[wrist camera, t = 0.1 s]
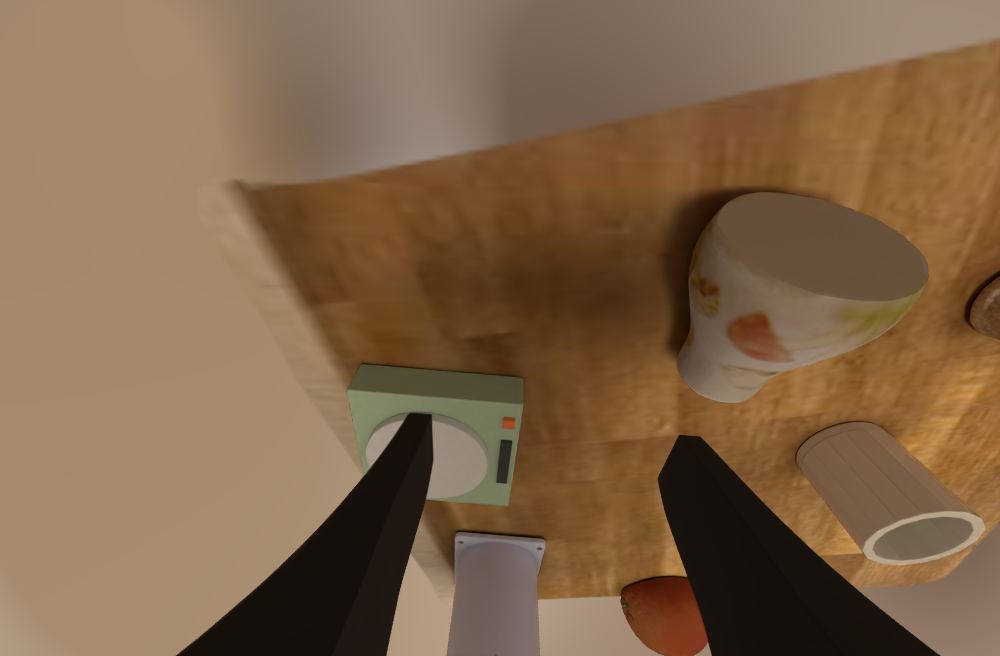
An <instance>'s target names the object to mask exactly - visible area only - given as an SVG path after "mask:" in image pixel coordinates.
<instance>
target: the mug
mask: <svg viewBox="0 0 1000 656" xmlns="http://www.w3.org/2000/svg"><path fill="white" fill-rule="evenodd" d="M927 281H928V264H927V262H926V260H925V258H924V256H923V255H922V254H921V252H920V251H919V250H918V249H917V248H916V247H915V246H914V245H913V244H911V243H910V242H909V241H908V240H907V239H906V238H905V237H904V236H902V235H901V234H900V233H898V232H897V231H895V230H894V229H892V228H890V227H889V226H887V225H886V224H884V223H883V222H881V221H879V220H877V219H875V218H873V217H871V216H868V215H866V214H863V213H860V212H858V211H855V210H852V209H850V208H847V207H844V206H842V205H839V204H835V203H832V202H828V201H825V200H821V199H818V198H811V197H803V196H797V195H791V194H785V193H776V192H758V193H752V194H745V195H743V196H737V197H736V198H734V199H732V200H731V201H730V202H728V203H727V204H725V205H724V206H723V207H722V208H721V209H720V210H719V211H718V212H717V213H716V214H715V215H714V217H713V218H712V219H711V220H710V221H709V223H708V224H707V225H706V227H705V229H704V230H703V232H702V234H701V235H700V237H699V239H698V241H697V244H696V246H695V248H694V252H693V255H692V260H691V264H690V270H689V300H690V317H691V327H690V332H689V335H688V337H687V339H686V341H685V343H684V345H683V347H682V349H681V350H680V352H679V354H678V357H677V367H678V370H679V373H680V375H681V377H682V378H683V380H684V381H685V382H686V383H687V384H688V386H689V387H690V388H691V389H692V390H694V391H695V392H696V393H697V394H700V395H702V396H704V397H707V398H709V399H712V400H715V401H720V402H727V403H735V402H742V401H745V400H747V399H749V398H750V397H752V396H753V395H755V393H756V392H757V391H758V390H759V389H760V388H761V387H762V386H764V385H765V384H766V383H767V382H768V381H769V380H770V379H772V378H773V377H775V376H776V375H778V374H780V373H783V372H786V371H789V370H792V369H796V368H799V367H803V366H805V365H808V364H812V363H815V362H819V361H822V360H825V359H828V358H832V357H835V356H838V355H840V354H843V353H846V352H848V351H851V350H853V349H855V348H857V347H860V346H862V345H864V344H866V343H868V342H870V341H872V340H874V339H875V338H877V337H879V336H880V335H882V334H883V333H885V332H886V331H888V330H889V329H890V328H892V327H893V326H894V325H895V324H896V323H898V322H899V321H900V320H901V319H902V318H903V317H904V316H905V315H906V314H907V313H908V311H909V310H910V309H911V308H912V307H913V305H914V304H915V303H916V302H917V300H918V298H919V297H920V295H921V293H922V292H923V290H924V288H925V286H926V283H927Z"/></svg>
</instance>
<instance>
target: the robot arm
mask: <svg viewBox="0 0 1000 656" xmlns="http://www.w3.org/2000/svg"><path fill="white" fill-rule="evenodd" d="M433 461H434V455H433V430H432V414H424V413H412V412H411V413H409V414H408V415H407V416H406V418H405V420H404V421H403V423H402V424H401V426H400V427H399V429H398V430H397V432H396V433H395V435H394V436H393V438H392V439H391V441H390V442H389V443H388V445H387V446H386V448H385V449H384V450H383V452H382V453H381V455H380V456H379V457H378V458H377V460H376V461H375V462H374V464H373V465H372V466H371V468H370V469H369V470H368V471H367V473H366V474H365V475H364V477H363V478H362V479H361V480H360V482H359V483H358V484H357V485H356V486H355V487H354V489H353V490H352V491H351V492H350V493H349V494H348V496H347V497H346V498H345V499H344V500H343V501H342V503H341V504H340V505H339V506H338V507H337V508H336V510H335V511H334V512H333V513H332V514H331V515H330V516H329V517H328V518H327V519H326V520H325V522H324V523H323V524H322V525H321V526H320V527H319V528H318V529H317V530H316V531H315V532H314V533H313V534H312V535H311V536H310V537H309V538H308V539H307V540H306V541H305V542H304V543H303V544H302V545H301V546H300V548H298V549H297V550H296V551H295V552H294V553H293V554H292V555H291V556H290V557H289V558H288V559H287V560H286V561H285V562H284V563H283V564H282V565H281V566H280V567H279V568H278V569H277V570H276V571H274V572H273V573H272V574H271V575H270V576H269V577H268V578H267V579H266V580H265V581H264V582H263V583H261V584H260V585H259V586H258V587H257V588H256V589H255V590H254V591H253V592H251V593H250V594H249V595H248V596H247V597H246V598H245V599H243V600H242V601H241V602H240V603H239V604H237V605H236V606H235V607H234V608H233V609H232V610H230V611H229V612H228V613H227V614H226V615H225V616H224V617H222V618H221V619H220V620H219V621H218V622H217V623H215V624H214V625H213V626H212V627H211V628H210V629H208V630H207V631H206V632H205V633H204V634H202V635H201V636H200V637H199V638H198V639H196V640H195V641H194V642H193V643H191V644H190V645H189V646H187V647H186V648H185V649H184V650H182V651H181V652H180V653H179V654H177V655H176V656H386V654H387V650H388V644H389V639H390V634H391V630H392V625H393V620H394V615H395V610H396V606H397V601H398V596H399V592H400V588H401V584H402V580H403V576H404V573H405V569H406V566H407V563H408V559H409V556H410V552H411V549H412V546H413V542H414V539H415V535H416V532H417V528H418V525H419V522H420V518H421V515H422V511H423V508H424V504H425V501H426V497H427V493H428V488H429V483H430V477H431V472H432V466H433ZM658 483H659V488H660V493H661V498H662V502H663V506H664V510H665V514H666V517H667V520H668V523H669V526H670V529H671V532H672V535H673V537H674V540H675V543H676V546H677V549H678V551H679V554H680V557H681V560H682V563H683V565H684V568H685V571H686V574H687V576H688V579H689V582H690V585H691V588H692V590H693V593H694V596H695V599H696V602H697V605H698V608H699V611H700V614H701V617H702V620H703V624H704V628H705V632H706V635H707V639H708V643H709V647H710V650H711V654H712V656H940V655H938V654H937V653H936V652H935V651H933V650H932V649H931V648H929V647H928V646H927V645H925V644H924V643H923V642H922V641H920V640H919V639H918V638H917V637H915V636H914V635H913V634H911V633H910V632H909V631H908V630H906V629H905V628H904V627H903V626H901V625H900V624H899V623H897V622H896V621H895V620H894V619H892V618H891V617H890V616H889V615H887V614H886V613H885V612H883V611H882V610H881V609H880V608H879V607H878V606H876V605H875V604H874V603H873V602H871V601H870V600H869V599H868V598H867V597H865V596H864V595H863V594H862V593H861V592H859V591H858V590H857V589H856V588H855V587H854V586H852V585H851V584H850V583H849V582H848V581H847V580H846V579H844V578H843V577H842V576H841V575H840V574H839V573H837V572H836V571H835V570H834V569H833V568H832V567H830V566H829V565H828V564H827V563H826V562H825V561H824V560H823V559H822V558H820V557H819V556H818V555H817V554H816V553H815V552H814V551H813V550H812V549H811V548H810V547H809V546H807V545H806V544H805V543H804V542H803V541H802V540H801V539H800V538H799V537H798V536H797V535H796V534H795V533H794V532H793V531H792V530H791V529H790V528H788V527H787V526H786V525H785V524H784V523H783V522H782V521H781V520H780V519H779V518H778V517H777V516H776V515H775V514H774V513H773V512H772V511H771V510H770V509H769V508H768V507H767V506H766V505H765V504H764V503H763V502H762V501H761V500H760V499H759V498H758V497H757V496H756V494H755V493H754V492H753V491H752V490H751V489H750V488H749V487H748V486H747V485H746V484H745V483H744V482H743V481H742V480H741V479H740V478H739V477H738V476H737V475H736V474H735V472H734V471H733V470H732V469H731V468H730V467H729V466H728V465H727V464H726V463H725V462H724V461H723V460H722V459H721V458H720V457H719V456H718V454H717V453H716V452H715V451H714V450H713V449H712V448H711V447H710V446H709V445H708V444H707V443H706V442H705V441H704V440H703V439H702V438H701V437H698V436H686V435H679V436H678V438H677V440H676V442H675V444H674V446H673V448H672V450H671V452H670V454H669V456H668V458H667V460H666V462H665V464H664V466H663V468H662V470H661V472H660V474H659V476H658ZM545 547H546V541H545V540H544V539H539V538H527V537H515V536H502V535H490V534H478V533H466V532H458V533H456V535H455V575H454V583H455V585H456V586H455V594H454V602H453V610H452V617H451V625H450V633H449V641H448V649H447V656H540V645H539V620H538V619H539V617H538V591H537V576H538V572H539V569H540V565H541V561H542V558H543V554H544V551H545Z"/></svg>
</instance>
